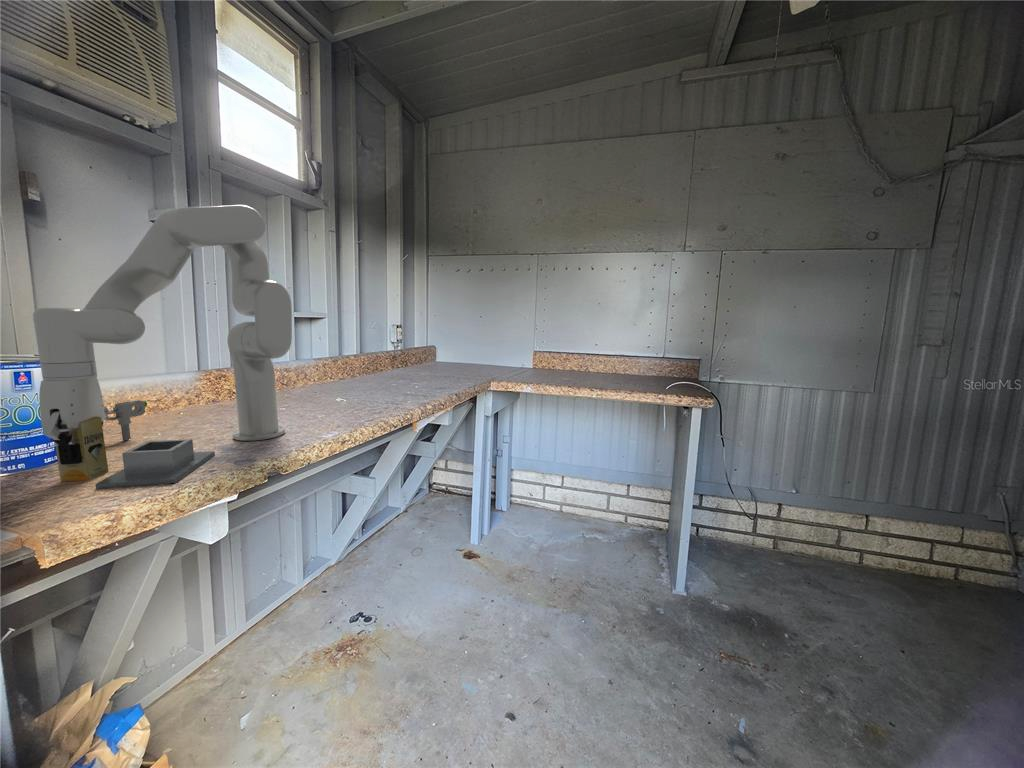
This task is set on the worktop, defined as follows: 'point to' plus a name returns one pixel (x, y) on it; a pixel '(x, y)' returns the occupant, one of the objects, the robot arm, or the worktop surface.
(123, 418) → the mechanical component
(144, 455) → the holder
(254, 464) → the worktop surface
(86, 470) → the shoe polish box
